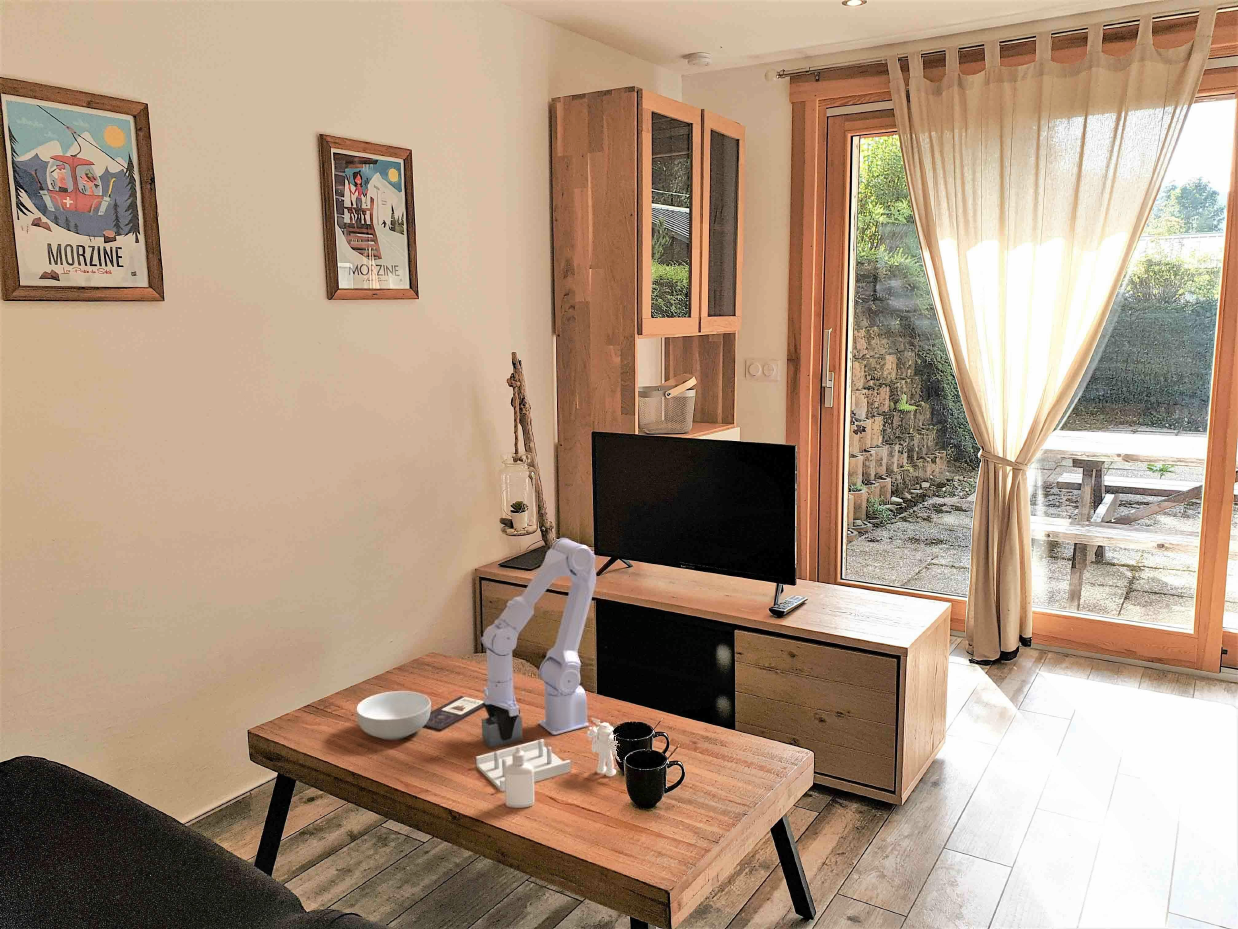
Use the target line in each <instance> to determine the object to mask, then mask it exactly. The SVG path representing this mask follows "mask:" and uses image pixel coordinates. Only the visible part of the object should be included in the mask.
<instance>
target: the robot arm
mask: <svg viewBox="0 0 1238 929" xmlns="http://www.w3.org/2000/svg"><path fill="white" fill-rule="evenodd" d="M596 559H597V557H596V555H595V554H594V552H593V551H592V550H591V548H590V547H589V546H588V545H585V544H580V543H577V542H575V541H574V540H573V541H572V539H570V538H567V537H561V538H559V539H557V540H555V541H554V543H553V544H552V546H551V548H549V549H548V550H547V551H546V554H545V557H544V560H543V562H542V564H541V565H540V567H539V569H538V570H537V571H536V573H535V575H534V576H533V578H532V579H531V581H530V583H529V584H528V586H527V587H526V589H525V590H524V592H523V593H522V595H519V596H516V597H513V598H512V600H508V601H507V603H506V608H505V609H504V610H503V611H502V613H501V614H500V615H499V617H498V618H497V619H495V620H494V622H493V624H492V625H489V626H488V627H487V628H486V629H485V630H484V632H483V636H481V638H480V639H481V643H482V644H483V646H484V647H485V648H486V672H487V673H486V677H487V686H485V687H483V692H484V693H483V695H484V696H485V697H486V698H484V699H483V700H482V701H483V706H484V709H485V711H486V713H487V715H488V717H492V716H496V718H497V720H498V723H499V728H500V734H501V738H502V740H503V741H505V740H508V739H511V738H512V733H513V729H514V725H515V722H516V720H517V717H518V716H520V714H521V710H520V708H519V707H520V706H519V705H518V704H517V700H516V696H515V694H514V693H515V692H514V672H513V671H514V668H513V666H514V665H513V650H514V649H515V648H516V647H517V643H518V637H519V635H520V633H521V631H522V630H523V629H524V627H525V626H526V624H527V623H528V622H529V620H531V618H532V617H533V615H534V614H535V607H534V606H535V604H536V603H537V601H538V600H540V598H541V597H542V595H543V594H544V593H545V592H546V591H547V589H548V588H549V587H550V586H551V584H552V583H554V581H555V580H556V579H557V578H562V577H567V576H568V578H569V579H570V580H571V585H570V589H569V590H568V591H569V592H568V595H567V599H566V603H565V607H564V610H563V614H562V618H561V622H560V624H559V628H558V629H559V630H558V631H557V632H558V633H557V636H556V640H555V642H554V646H553V647H552V648H550V649H549V650H548V651H547V653H546V657H545V658H544V660H543V661H542V662H541V664H540V665H539V666H540V667H539V671H538V672H539V673H538V674H539V675H538V676H539V678H540V680H542V682H544V715H545V716H544V717H545V718H544V720H540V721H538V725H539V726H541V727H542V728H544V729H545V730H546V731H548V732H549V733H550V734H551V735H554V736H555V735H560V734H563V733H567V732H571V731H575V730H578V729H582V728H586V727H589V726H590V725H589V722H588V701H587V700H588V699H587V695H586V692H585V689H584V687H583V686H582V685H580V683H581V674H580V670H581V666H582V664H581V661H580V657H579V654H578V650H579V648H580V643H581V639H582V636H583V632H584V628H585V624H586V621H587V618H588V615H589V614H588V613H589V609H590V606H591V602H592V598H593V596H594V590H595V587H596V583H597V572H596V567H595V562H596Z"/></svg>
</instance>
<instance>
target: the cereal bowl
mask: <svg viewBox="0 0 1238 929" xmlns="http://www.w3.org/2000/svg"><path fill="white" fill-rule="evenodd" d="M431 709H432V701H431V699H430V698H429V697H428V696H427V695H425V694H423V693H421V692H420V693H419V692H416V691H410V690H406V691H405V690H400V691H399V690H397V691H396V690H394V691H386V692H381V693H377V694H373V695H371V696H369V697H367V698H364V699H363V700H361V701H360V702H359V703H358V705H357V707H356V709H355V712H356V713H355V714H356V719H357V723H358V725H359V727H360V729H362V730H363V731H364V732H365V733H366V734H368V735H369V736H373V737H376V738H380V739H382V740H387V741H388V740H390V741H392V740H393V741H395V740H400V739H404V738H406V737H409V736H410V735H412V734H413V735H414V734H415V733H416V732H418V731H420V730H421V729H422V728H424V727H423V726H424V725H425V724H426V723H427V721H428V719H429V717H430V712H431V711H432V710H431Z"/></svg>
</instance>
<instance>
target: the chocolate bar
mask: <svg viewBox="0 0 1238 929" xmlns="http://www.w3.org/2000/svg"><path fill="white" fill-rule="evenodd" d="M482 709H485V707H484V706H483V700H480V699H476V698H472V697H466V696H462V695H460V696H458V697H456V698H454V699H452V700H451V701H448V702H447V703H444V704H442V705H441V706H439V707H437V708H436V709H433V710H431V712H430V717H429V719H428V721H427V723H426V724H425V725H424V726H423V727H422V728H425V729H430V730H433V731H436V732H437V731H438V732H443V731H444V730H446V729H449V728H450V727H451V726H454V725H456V724H457V723H459V722H461V721H462V720H465V719H466V718H467V717H469V716H471V715H474V714H475V713H477V712H478V711H480V710H482Z"/></svg>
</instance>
